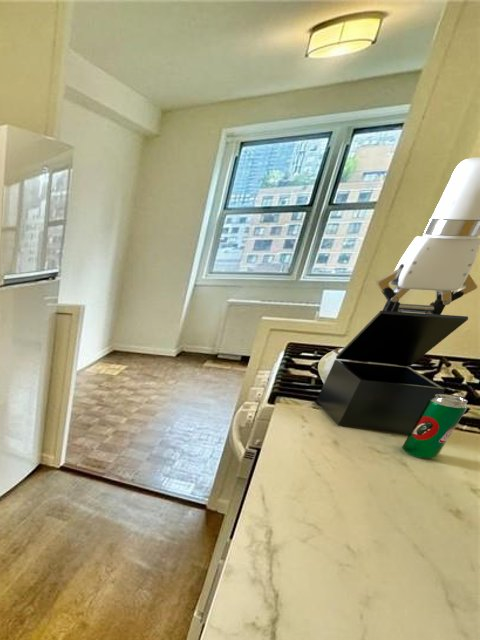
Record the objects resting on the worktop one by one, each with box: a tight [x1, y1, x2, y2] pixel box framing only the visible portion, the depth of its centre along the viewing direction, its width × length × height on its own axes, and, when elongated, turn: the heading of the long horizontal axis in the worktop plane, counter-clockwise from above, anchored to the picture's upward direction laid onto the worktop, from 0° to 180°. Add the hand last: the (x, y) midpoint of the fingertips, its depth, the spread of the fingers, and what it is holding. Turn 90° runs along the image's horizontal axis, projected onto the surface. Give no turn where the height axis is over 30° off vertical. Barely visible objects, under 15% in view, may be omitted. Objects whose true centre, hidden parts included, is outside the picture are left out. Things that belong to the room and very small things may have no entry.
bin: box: [315, 360, 446, 436], centre depth 109 cm, size 16×14×11 cm
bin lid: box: [336, 302, 469, 367], centre depth 106 cm, size 16×14×5 cm
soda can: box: [401, 393, 469, 460], centre depth 94 cm, size 5×5×12 cm
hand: (406, 320), depth 103 cm, fingers closed on bin lid, 6 cm apart
